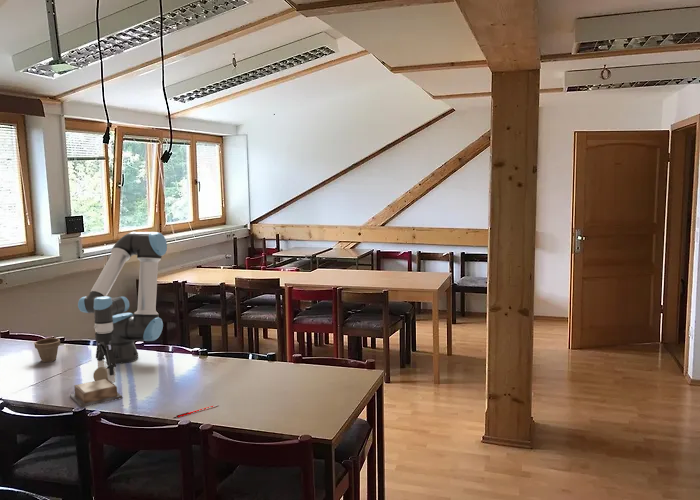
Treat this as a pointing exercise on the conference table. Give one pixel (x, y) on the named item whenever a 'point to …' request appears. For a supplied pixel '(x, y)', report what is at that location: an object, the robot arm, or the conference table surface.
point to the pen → (189, 412)
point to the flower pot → (47, 349)
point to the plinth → (95, 393)
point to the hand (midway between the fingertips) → (106, 378)
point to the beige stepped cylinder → (100, 374)
